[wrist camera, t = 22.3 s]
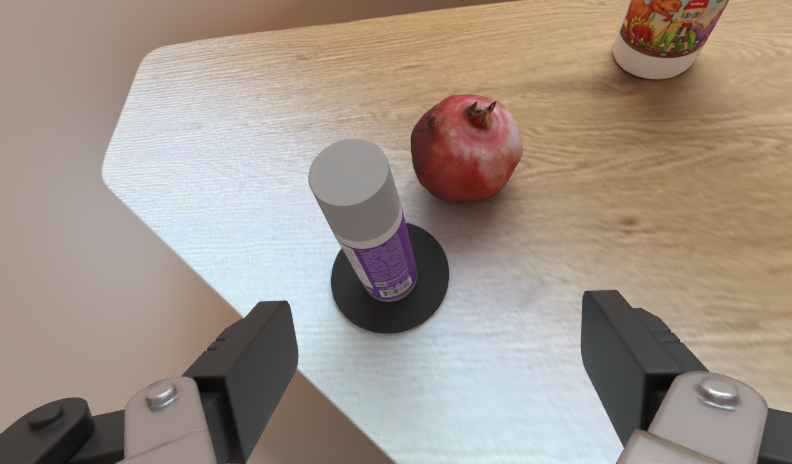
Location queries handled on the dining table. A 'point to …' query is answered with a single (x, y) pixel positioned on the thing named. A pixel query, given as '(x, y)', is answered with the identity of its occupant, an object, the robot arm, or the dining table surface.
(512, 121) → the fruit
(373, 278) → the container
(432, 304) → the coaster
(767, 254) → the dining table surface
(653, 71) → the milk bottle
